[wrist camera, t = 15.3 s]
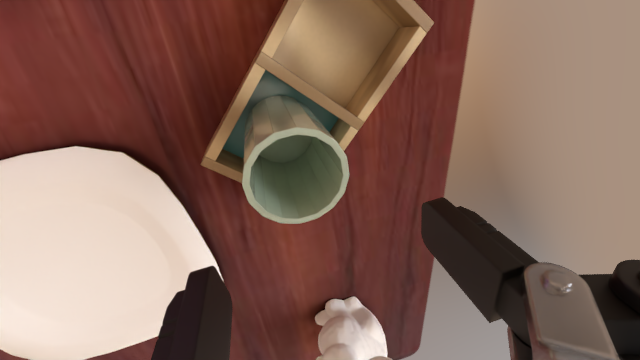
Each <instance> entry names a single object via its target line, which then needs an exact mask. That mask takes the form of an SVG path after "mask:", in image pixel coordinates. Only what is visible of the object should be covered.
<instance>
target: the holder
mask: <svg viewBox="0 0 640 360" xmlns="http://www.w3.org/2000/svg"><path fill="white" fill-rule="evenodd" d="M433 24H434V22H433V21H432V20H431V19H430V17H429V16H428V15H427V14H426V13H425V12H424V11H423V10H422V9H421V8H420V7H419V6H418V5H417V4H416V3H415V1H414V0H285V1H284V3H283V5H282V7H281V8H280V10H279V12H278V14H277V16H276V18H275V20H274V22H273V24H272V25H271V27H270V29H269V31H268V33H267V35H266V37H265V39H264V41H263V42H262V44H261V46H260V48H259V50H258V52H257V54H256V56H255V58H254V59H253V61H252V63H251V65H250V67H249V69H248V71H247V73H246V75H245V76H244V78H243V80H242V82H241V84H240V86H239V88H238V90H237V92H236V93H235V95H234V97H233V99H232V101H231V103H230V105H229V107H228V109H227V110H226V112H225V114H224V116H223V118H222V120H221V122H220V124H219V126H218V127H217V129H216V131H215V133H214V135H213V137H212V139H211V141H210V143H209V144H208V146H207V148H206V151H205V154H204V156H203V159H202V162H201V165H202V166H204V167H206V168H209V169H211V170H213V171H215V172H218V173H220V174H222V175H225V176H227V177H229V178H231V179H234V180H236V181H238V182H241V183H242V172H243V148H244V130H245V122H246V119H247V116H248V114H249V113H250V111H251V110H252V108H253V107H254V106H255V105H256V104H257V103H259V102H260V101H262V100H264V99H266V98H268V97H272V96H280V95H282V96H289V97H292V98H295V99H297V100H299V101H301V102H302V103H303V104H304V105H306V106H307V107H308V108H309V109H310V110H311V112H312V113H313V114H314V115H315V116H316V117H317V119H318V120H319V121H320V122H321V123H322V125H323V126H324V127H325V128H326V129H327V130H328V132H329V133H330V134H331V135H332V136H333V138H334V139H335V140H336V141H337V143H338V144H339V146H340V147H341V149H342V150H343V152H344V150H345V149H346V147H347V146H348V145H349V143H350V142H351V140H352V139H353V137H354V136H355V135H356V133H357V132H358V130H359V129H360V128H361V126H362V125H363V123H364V122H365V120H366V119H367V118H368V116H369V115H370V113H371V112H372V110H373V109H374V108H375V106H376V105H377V103H378V102H379V101H380V99H381V98H382V96H383V95H384V93H385V92H386V91H387V89H388V88H389V86H390V85H391V83H392V82H393V81H394V79H395V78H396V76H397V75H398V73H399V72H400V71H401V69H402V68H403V66H404V65H405V63H406V62H407V61H408V59H409V58H410V56H411V55H412V53H413V52H414V51H415V49H416V48H417V46H418V45H419V43H420V42H421V41H422V39H423V38H424V36H425V35H426V33H427V32H428V31H429V29H430V28H431V26H432V25H433Z"/></svg>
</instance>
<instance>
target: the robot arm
mask: <svg viewBox="0 0 640 360" xmlns="http://www.w3.org/2000/svg"><path fill="white" fill-rule="evenodd" d="M421 233H422V238H423V241H424V243H425V245H426V247H427V248H428V249H429V251H430V252H431V253H432V254H433V255H434V257H435V258H436V259H437V260H438V261H439V263H440V264H441V265H442V266H443V267H444V268H445V270H446V271H447V272H448V273H449V275H450V276H451V277H452V278H453V279H454V281H455V282H456V283H457V284H458V285H459V287H460V288H461V289H462V290H463V291H464V293H465V294H466V295H467V296H468V297H469V299H470V300H471V301H472V302H473V303H474V305H475V306H476V307H477V308H478V309H479V310H480V312H481V313H482V314H483V315H484V317H485V318H486V319H487V320H488V321H489V323H491V322H493V321H496V320H499V319H503V320H504V321H505V322H506V323H507V324H508V329H507V330H508V331H507V332H508V340H509V348H510V356H511V360H640V260H626V261H623V262H620V263H619V264H618V265H617V266H616V268H615V270H614V272H613V274H597V275H596V274H594V275H577V274H576V273H574V272H573V271H571V270H569V269H567V268H565V267H562V266H560V265H556V264H552V263H539V262H538V261H536V260H535V259H534V258H532V257H531V256H530V255H529V254H527V253H526V252H525V251H524V250H522V249H521V248H520V247H518V246H517V245H516V244H515V243H513V242H512V241H511V240H510V239H508V238H507V237H506V236H504V235H503V234H502V233H501V232H499V231H497V230H496V228H494V227H493V226H492V225H491V224H489V223H487V221H485V220H484V219H483V218H482V217H480V216H479V215H478V214H477V213H475V212H473V211H470V210H468V209H466V208H464V207H461V206H460V207H455V206H454V205H453V204H452V203H450V202H449V201H448V200H447V199H445V198H438V199H435V200H432V201H428V202H425V203H423V205H422V229H421ZM231 323H232V301H231V297H230V294H229V291H228V290H227V288H226V286H225V284H224V282H223V280H222V279H221V277H220V275H219V273H218V271H217V269H216V268H215V267H214V266H209V267H206V268H202V269H199V270H196V271H192V272H190V274H189V276H188V279H187V283H186V287H185V290H182V291H179V292H177V293H176V295H175V296H174V298H173V299H172V301H171V302H170V304H169V305H168V306H167V309H166V312H165V316H164V319H163V322H162V324H163V326H161V329H160V332H159V335H158V337H159V339H158V340H157V342H156V345H155V349H154V352H153V355H152V358H151V360H229V355H230V339H231Z"/></svg>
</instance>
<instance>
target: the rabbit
mask: <svg viewBox="0 0 640 360" xmlns="http://www.w3.org/2000/svg"><path fill="white" fill-rule="evenodd" d="M315 321H316V323H317V324H318V325H322V326H323V327H322V329H321V331H320V333H319V336H318V346H319V349H320V352H321V353H322V356H319V357H317V358H316V359H315V360H392V359H391V358H388V357H387V346H386V340H385V335H384V333H383V330H382V326H381V325H380V323H379V322H378V320H377V318H376V317H375V316H374V315H373V314H372V312H371V311H369V310H368V309H367V308H366V307H364V306H363V305H362V304H361V302H360V301H359V300H358V299H357V298H356V297H350V298H348V299H346V300H339V299H331V300H329V301H328V302H327V303H326V305H325V310H323V311H321V312H319V313H318V314H317V315H316V316H315Z"/></svg>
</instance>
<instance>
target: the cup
mask: <svg viewBox="0 0 640 360" xmlns="http://www.w3.org/2000/svg"><path fill="white" fill-rule="evenodd" d="M348 178H349V168H348V161H347V156H346V155H345V153H344V152H343V150H342V149H341V147H340V146H339V144H338V143H337V141H336V140H335V139H334V138H333V136H332V135H331V134H330V133H329V132H328V130H327V129H326V128H325V127H324V126H323V125H322V123H321V122H320V121H319V120H318V119H317V117H316V116H315V115H314V114H313V113H312V112H311V110H310V109H309V108H308V107H307V106H306V105H304V104H303V103H302V102H301V101H299V100H297V99H295V98H292V97H289V96H282V95H280V96H272V97H268V98H266V99H264V100H262V101H260V102H259V103H257V104H256V105H255V106H254V107H253V108H252V110H251V111H250V113H249V114H248V116H247V119H246V122H245V130H244V148H243V172H242V187H243V189H244V192H245V195H246V197H247V200H248V202H249V204H250V205H251V206H252V207H253V208H254V209H255V210H257V211H258V212H259V213H260V214H261V215H262V216H263V217H266V218H268V219H271V220H273V221H276V222H278V223H291V224H299V223H304V222H307V221H310V220H314V219H317V218H319V217H320V216H322V215H323V214H325V213H326V212H328V211H329V210H331V209H332V208H333V207H334V206H335V205H336V203H337V202H338V201H339V199H340V198H341V197H342V195H343V194H344V192H345V189H346V186H347V182H348Z"/></svg>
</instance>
